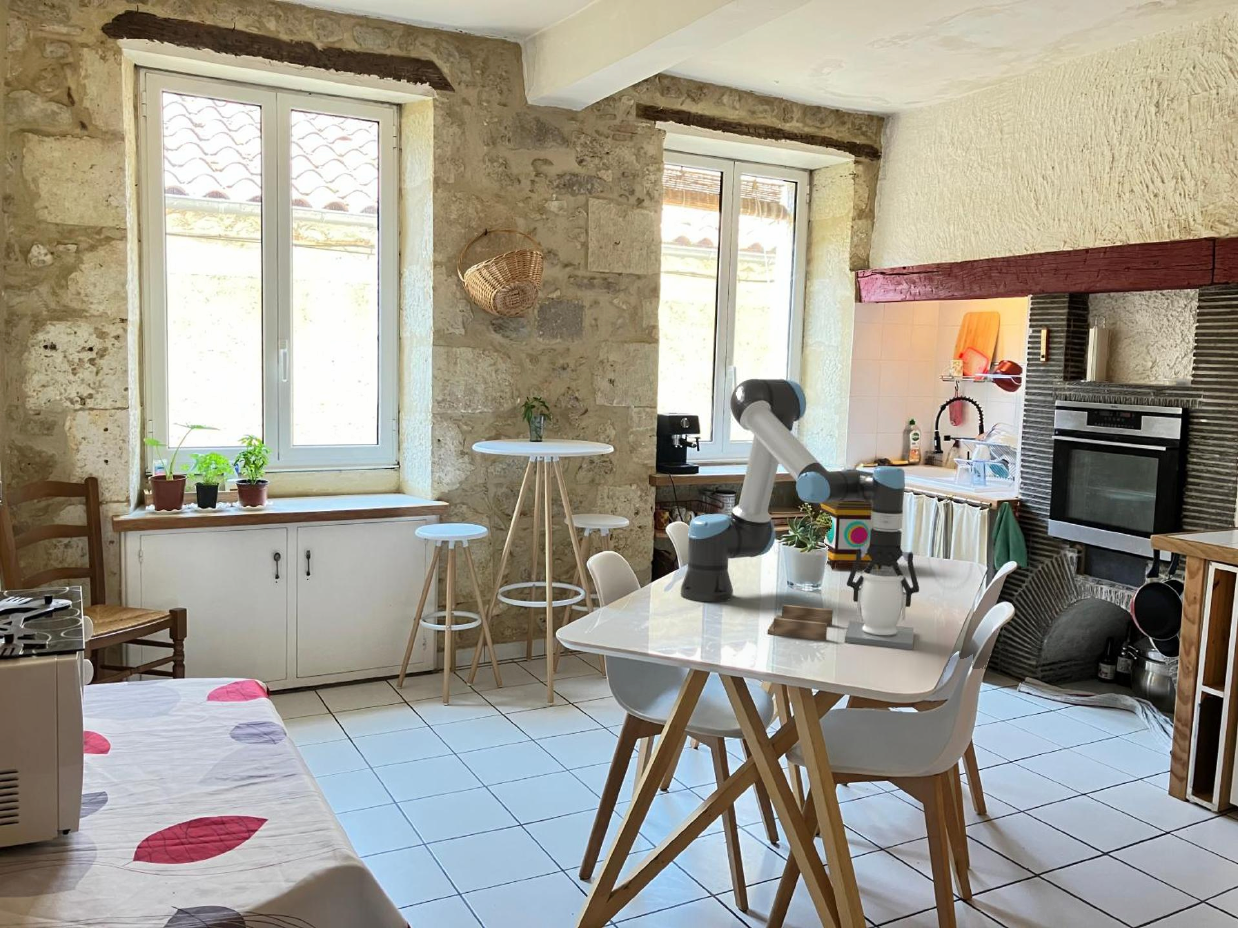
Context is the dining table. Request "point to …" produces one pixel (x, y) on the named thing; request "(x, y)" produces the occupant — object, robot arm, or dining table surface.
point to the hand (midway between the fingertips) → (880, 616)
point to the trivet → (880, 636)
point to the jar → (881, 601)
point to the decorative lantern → (848, 530)
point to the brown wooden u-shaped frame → (802, 622)
